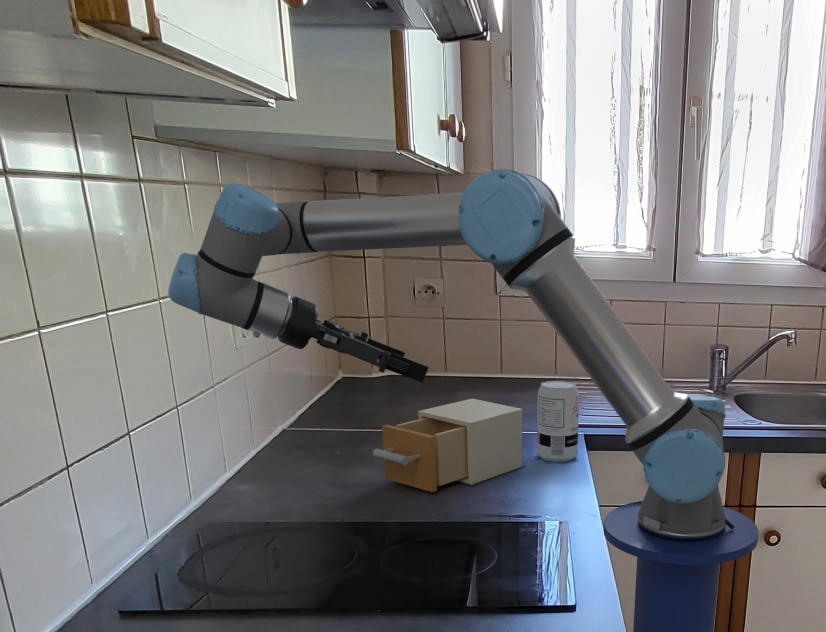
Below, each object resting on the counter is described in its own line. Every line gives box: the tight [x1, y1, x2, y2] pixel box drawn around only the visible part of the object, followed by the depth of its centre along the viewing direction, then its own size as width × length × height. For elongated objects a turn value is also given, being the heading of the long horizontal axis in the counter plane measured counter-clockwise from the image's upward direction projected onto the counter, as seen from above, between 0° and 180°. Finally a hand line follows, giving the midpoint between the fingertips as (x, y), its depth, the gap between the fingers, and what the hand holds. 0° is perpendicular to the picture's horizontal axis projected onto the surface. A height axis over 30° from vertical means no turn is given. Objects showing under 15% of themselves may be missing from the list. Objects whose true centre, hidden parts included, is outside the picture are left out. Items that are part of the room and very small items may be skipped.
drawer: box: [372, 417, 468, 493], centre depth 147 cm, size 18×11×10 cm, turn 150°
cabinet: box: [417, 398, 523, 486], centre depth 157 cm, size 15×13×12 cm
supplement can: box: [536, 380, 580, 463], centre depth 167 cm, size 8×8×15 cm
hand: (413, 366), depth 140 cm, fingers open, 13 cm apart
